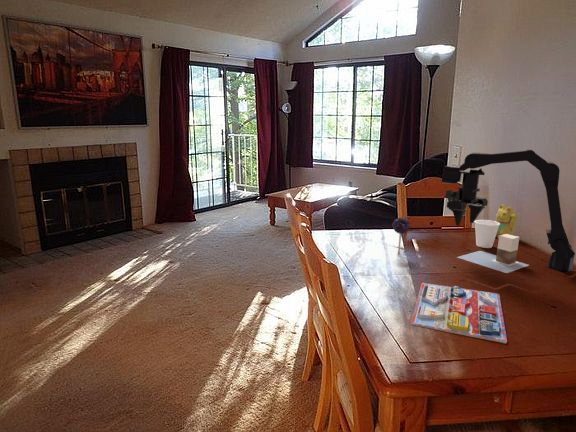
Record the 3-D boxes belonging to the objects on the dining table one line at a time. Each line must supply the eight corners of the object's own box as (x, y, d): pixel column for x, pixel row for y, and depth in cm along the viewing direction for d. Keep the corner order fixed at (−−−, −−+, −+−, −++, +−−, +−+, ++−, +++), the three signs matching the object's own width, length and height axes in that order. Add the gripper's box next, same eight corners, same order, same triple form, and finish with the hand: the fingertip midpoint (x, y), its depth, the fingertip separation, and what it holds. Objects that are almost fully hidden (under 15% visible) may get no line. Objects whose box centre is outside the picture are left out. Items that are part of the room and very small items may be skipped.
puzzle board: (421, 285, 137) (422, 278, 136) (498, 298, 128) (499, 290, 128) (409, 326, 110) (410, 317, 109) (506, 346, 101) (508, 336, 100)
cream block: (517, 249, 156) (519, 236, 155) (510, 251, 154) (512, 238, 152) (504, 246, 160) (506, 233, 159) (497, 248, 158) (499, 235, 156)
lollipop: (405, 251, 170) (409, 216, 166) (408, 256, 163) (412, 220, 160) (388, 250, 170) (391, 215, 167) (391, 256, 164) (394, 219, 160)
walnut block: (515, 262, 157) (517, 249, 156) (508, 264, 155) (510, 251, 153) (502, 258, 161) (504, 246, 160) (495, 260, 159) (497, 248, 158)
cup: (501, 250, 173) (504, 225, 170) (477, 250, 173) (480, 225, 170) (490, 243, 182) (493, 219, 180) (467, 243, 183) (470, 219, 180)
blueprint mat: (529, 266, 155) (529, 264, 155) (506, 274, 146) (506, 273, 146) (479, 252, 171) (479, 250, 171) (456, 258, 162) (456, 257, 162)
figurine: (486, 234, 197) (490, 203, 194) (500, 233, 200) (505, 203, 196) (504, 241, 187) (509, 208, 183) (519, 239, 189) (524, 208, 186)
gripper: (465, 180, 172) (460, 217, 176) (437, 184, 162) (432, 222, 165) (490, 185, 163) (485, 223, 167) (462, 188, 153) (457, 229, 156)
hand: (464, 224), depth 164 cm, fingers open, 9 cm apart
